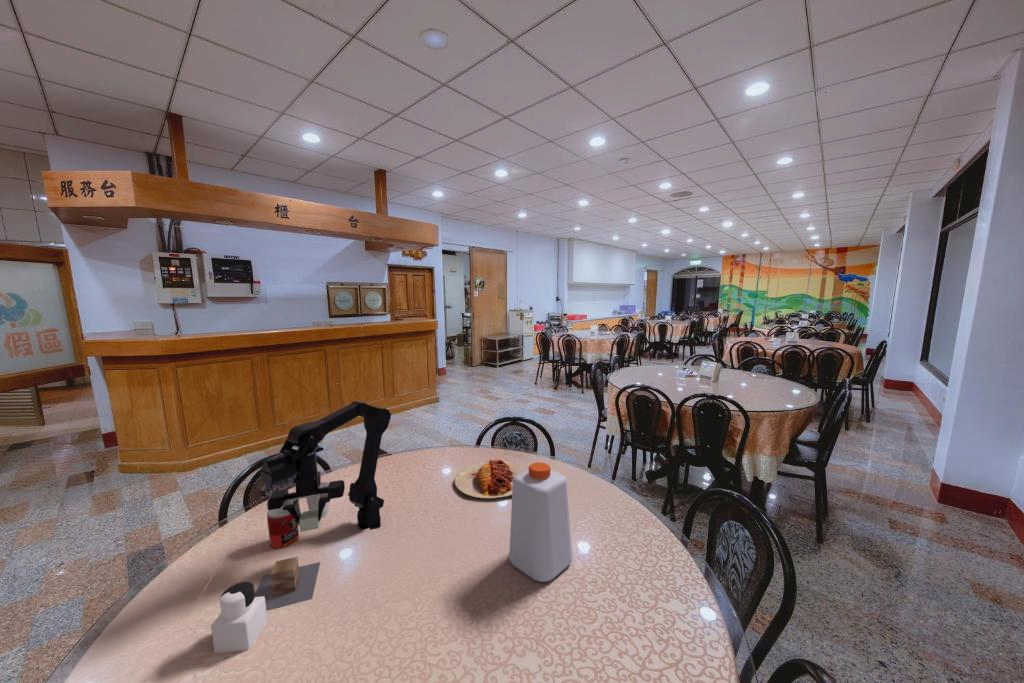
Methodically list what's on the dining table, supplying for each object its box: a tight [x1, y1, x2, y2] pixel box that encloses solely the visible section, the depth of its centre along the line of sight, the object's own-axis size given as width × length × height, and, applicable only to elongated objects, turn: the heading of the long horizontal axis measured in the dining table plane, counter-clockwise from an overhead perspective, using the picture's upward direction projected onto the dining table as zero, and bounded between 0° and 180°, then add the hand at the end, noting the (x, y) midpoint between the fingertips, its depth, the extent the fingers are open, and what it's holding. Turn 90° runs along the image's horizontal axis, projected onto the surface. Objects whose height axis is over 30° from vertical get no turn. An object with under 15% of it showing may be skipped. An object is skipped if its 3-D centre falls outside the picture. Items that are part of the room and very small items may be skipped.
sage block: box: [299, 509, 321, 533], centre depth 105 cm, size 4×4×4 cm
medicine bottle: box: [210, 581, 268, 654], centre depth 81 cm, size 7×7×12 cm
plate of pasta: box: [454, 459, 526, 499], centre depth 151 cm, size 31×35×7 cm
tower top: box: [270, 556, 299, 585], centre depth 95 cm, size 5×5×3 cm
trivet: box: [255, 561, 321, 612], centre depth 96 cm, size 14×14×1 cm
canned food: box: [266, 506, 300, 549], centre depth 114 cm, size 8×8×11 cm
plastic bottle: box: [508, 461, 573, 583], centre depth 103 cm, size 15×15×28 cm
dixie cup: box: [305, 481, 330, 519], centre depth 129 cm, size 8×8×10 cm
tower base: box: [272, 566, 300, 596], centre depth 96 cm, size 5×5×3 cm
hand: (310, 522), depth 105 cm, fingers closed on sage block, 4 cm apart
